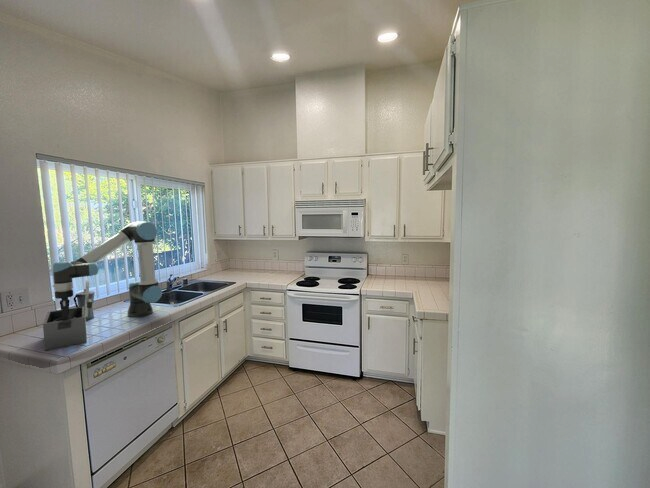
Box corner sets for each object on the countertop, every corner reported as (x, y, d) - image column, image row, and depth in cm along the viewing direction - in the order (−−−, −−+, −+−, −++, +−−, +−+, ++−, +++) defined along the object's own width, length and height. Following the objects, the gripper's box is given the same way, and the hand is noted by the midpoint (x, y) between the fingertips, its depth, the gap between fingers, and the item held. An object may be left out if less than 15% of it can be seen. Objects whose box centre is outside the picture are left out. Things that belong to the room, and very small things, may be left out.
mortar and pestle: (62, 336, 158) (60, 314, 157) (49, 334, 160) (47, 312, 159) (83, 328, 169) (82, 307, 168) (71, 326, 171) (69, 306, 170)
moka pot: (101, 315, 206) (99, 286, 204) (84, 322, 190) (82, 292, 188) (87, 315, 205) (85, 286, 204) (68, 323, 190) (66, 292, 188)
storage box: (86, 328, 180) (84, 306, 179) (86, 345, 156) (84, 319, 155) (49, 335, 170) (47, 311, 168) (44, 354, 146) (41, 327, 145)
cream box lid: (84, 306, 179) (90, 305, 180) (84, 321, 153) (91, 320, 154) (85, 279, 178) (91, 278, 180) (86, 289, 152) (92, 289, 154)
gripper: (56, 287, 169) (59, 325, 171) (52, 295, 152) (56, 337, 153) (73, 285, 173) (76, 322, 175) (72, 292, 156) (75, 334, 158)
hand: (66, 329), depth 164 cm, fingers closed on mortar and pestle, 9 cm apart
